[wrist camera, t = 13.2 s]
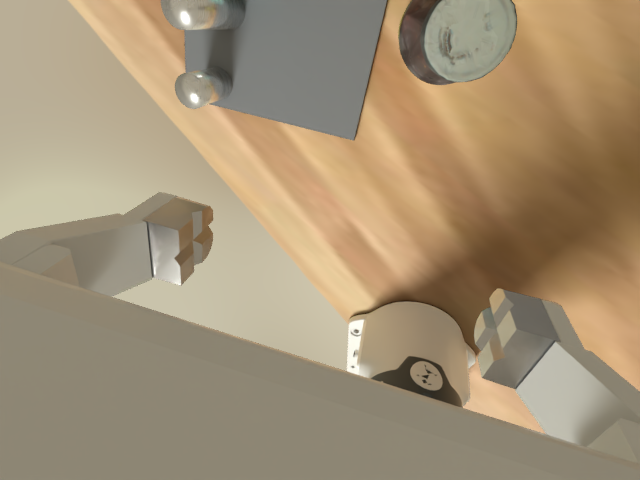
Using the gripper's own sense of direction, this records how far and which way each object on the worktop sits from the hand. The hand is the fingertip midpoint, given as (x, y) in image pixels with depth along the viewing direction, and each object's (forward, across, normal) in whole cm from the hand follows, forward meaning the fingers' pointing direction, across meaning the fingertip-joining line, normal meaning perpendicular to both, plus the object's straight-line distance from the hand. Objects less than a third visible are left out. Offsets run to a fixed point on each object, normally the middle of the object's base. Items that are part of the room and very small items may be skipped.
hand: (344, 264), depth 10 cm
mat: (+31, +13, -5) cm, 34 cm away
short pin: (+30, +19, +3) cm, 36 cm away
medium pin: (+30, +18, -4) cm, 36 cm away
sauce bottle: (+31, -2, -6) cm, 32 cm away
